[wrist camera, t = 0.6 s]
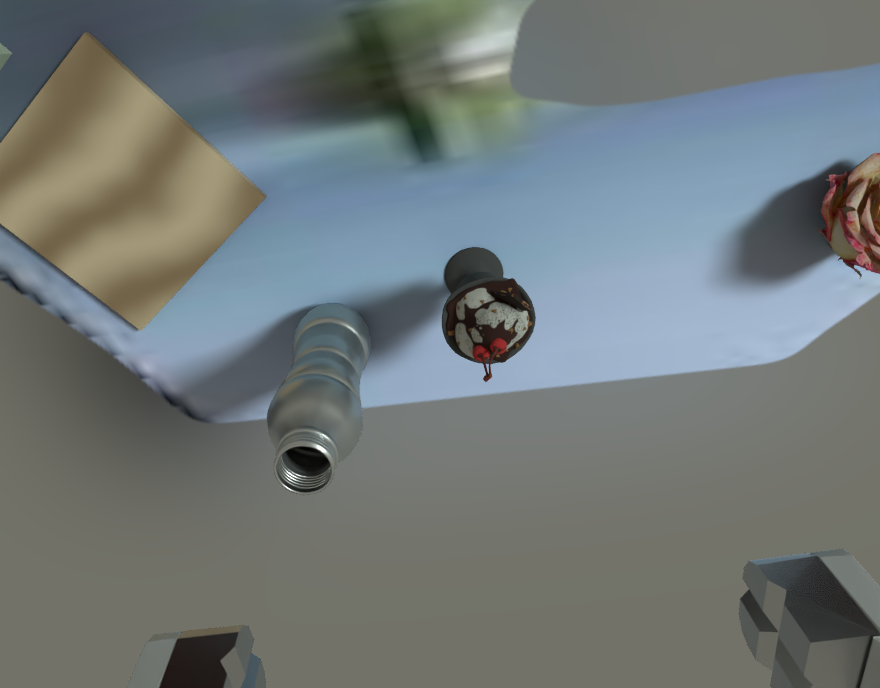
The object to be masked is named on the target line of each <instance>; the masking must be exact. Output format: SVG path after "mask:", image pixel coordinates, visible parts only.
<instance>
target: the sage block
mask: <svg viewBox="0 0 880 688" xmlns="http://www.w3.org/2000/svg"><path fill="white" fill-rule="evenodd" d="M11 55H12V53H11V52H10V51H9V50H8V49H6V48H5V47H4V46H3V45H2V44H1V43H0V70H1V68H2V67H3V66H4V64H5V63H6V62H7V60H8V59H9V57H10V56H11Z"/></svg>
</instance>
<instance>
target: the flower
mask: <svg viewBox="0 0 880 688" xmlns="http://www.w3.org/2000/svg"><path fill="white" fill-rule="evenodd" d="M869 161H870V162H869ZM875 167H876V168H875ZM872 172H873V173H872ZM848 175H849V172H848V173H846V171H845V172H843V174H842V175H835V174H834V175H829V179H826V180H829V181H830V188H831V189H830V190H829V191H828V192H827V194H826V195H825V197H824V200H823V206H822V208H821V213H822V216H823V218H824V221H825V223H826V227H825V228H824V229H823V230H822V231H820V230H819V229H818V228H817V227H816V228H817V229H818V231H819V232H821V234H822V235H823V237H824V238H825V239H826V240H827V241H828V242H829V243H828V244H829V246H830V247H831V248H832V249H833V250H834V251H835V252H836V254H837V255H838V256H840V258H839V259H838V260H840V259H843V262H844V263H845V264H846V265H847V266H849V267H851V268H852V269H854V270H855V272H857V273H858V274H859V275H860V278H861V273H860V272H859V271H858V270H857V269H855V268H854V265H858V266H860V267H863V268H866V270H870V271H872V272H875V273H879V274H880V153H874V154H872V155H871V156H869V157H868V158H867V159H866V160H864V161H863V162H861V163H860V164H859V165H858V166H857V167H856V168H855V169H854V170H853V171H852V172H851V173H850V175H849V176H848ZM847 176H848V184H847V187H846V189H845V193H844V195H843V188H842V186H843V183H844V181H845V180H846V178H847ZM873 176H874V177H873ZM860 278H859V279H860Z"/></svg>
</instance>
